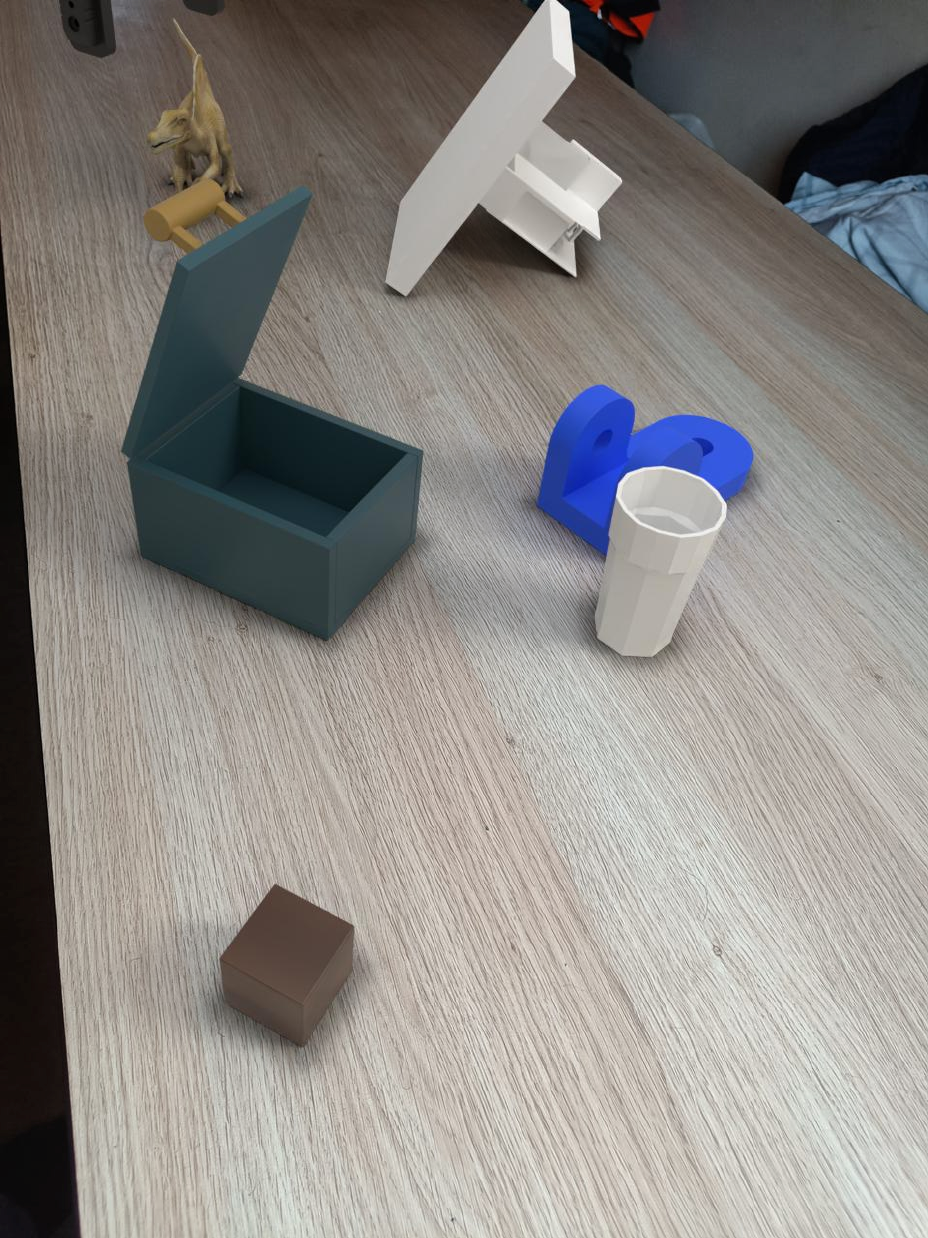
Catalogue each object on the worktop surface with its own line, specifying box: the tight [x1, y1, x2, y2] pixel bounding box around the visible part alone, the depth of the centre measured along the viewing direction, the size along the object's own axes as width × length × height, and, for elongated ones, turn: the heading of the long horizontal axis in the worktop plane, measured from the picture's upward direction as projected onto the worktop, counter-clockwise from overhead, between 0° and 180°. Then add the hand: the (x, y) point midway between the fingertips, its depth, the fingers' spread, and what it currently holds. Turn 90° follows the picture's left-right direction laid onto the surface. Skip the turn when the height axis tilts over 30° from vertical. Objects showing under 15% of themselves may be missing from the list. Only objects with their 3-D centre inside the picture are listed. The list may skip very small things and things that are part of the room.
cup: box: [594, 466, 728, 658], centre depth 67 cm, size 7×7×11 cm
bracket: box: [536, 384, 754, 557], centre depth 79 cm, size 18×8×9 cm, turn 133°
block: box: [218, 883, 356, 1048], centre depth 50 cm, size 4×4×4 cm
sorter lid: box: [120, 179, 314, 460], centre depth 63 cm, size 15×12×5 cm
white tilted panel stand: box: [384, 0, 623, 297], centre depth 102 cm, size 23×16×24 cm
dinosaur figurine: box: [145, 17, 244, 199], centre depth 106 cm, size 8×26×13 cm, turn 5°
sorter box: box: [126, 377, 424, 641], centre depth 70 cm, size 15×12×8 cm
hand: (151, 30), depth 53 cm, fingers open, 8 cm apart
